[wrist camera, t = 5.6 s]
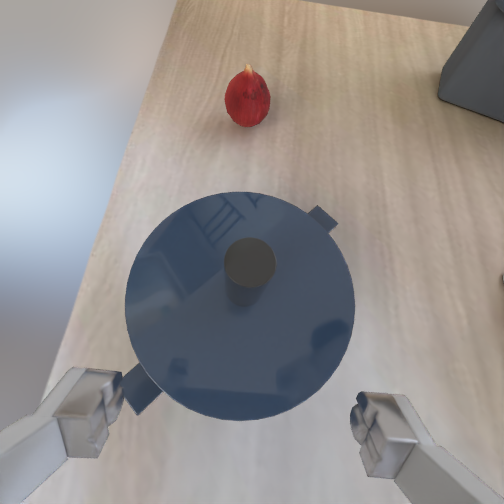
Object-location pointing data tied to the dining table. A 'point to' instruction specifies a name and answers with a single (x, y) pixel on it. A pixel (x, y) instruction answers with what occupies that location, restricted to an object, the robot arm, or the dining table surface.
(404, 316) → the dining table surface
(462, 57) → the storage bin
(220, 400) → the lid
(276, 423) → the dining table surface
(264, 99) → the onion
